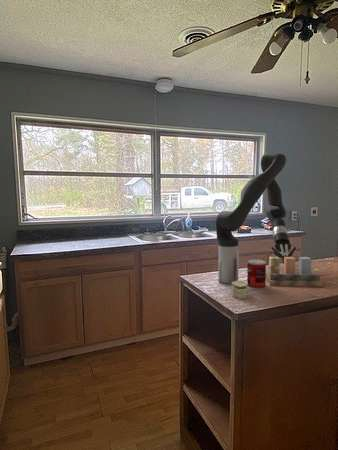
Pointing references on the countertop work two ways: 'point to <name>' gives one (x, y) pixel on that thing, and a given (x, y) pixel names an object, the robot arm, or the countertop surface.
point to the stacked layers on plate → (239, 289)
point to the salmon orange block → (289, 265)
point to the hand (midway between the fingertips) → (286, 263)
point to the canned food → (256, 273)
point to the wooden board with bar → (294, 279)
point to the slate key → (304, 265)
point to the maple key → (274, 265)
